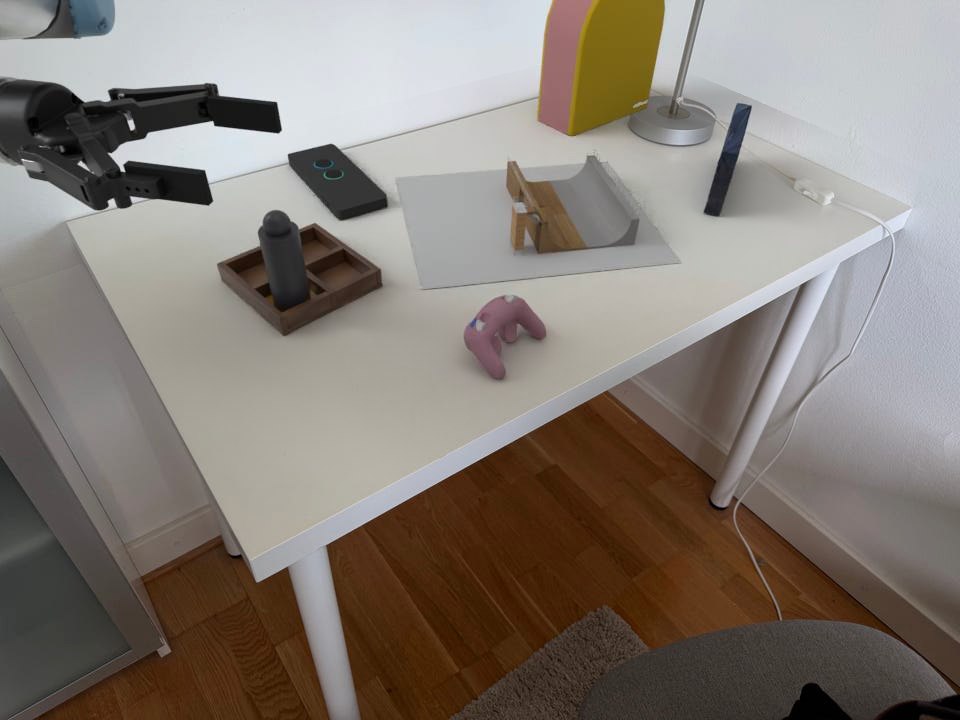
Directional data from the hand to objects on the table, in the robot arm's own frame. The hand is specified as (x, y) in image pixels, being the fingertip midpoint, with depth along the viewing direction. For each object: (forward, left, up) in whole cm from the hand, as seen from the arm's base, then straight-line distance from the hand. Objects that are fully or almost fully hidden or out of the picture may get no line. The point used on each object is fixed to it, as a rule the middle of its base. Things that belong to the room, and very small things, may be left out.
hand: (246, 150), depth 59 cm
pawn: (+6, +9, -24) cm, 26 cm away
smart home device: (+27, +30, -25) cm, 47 cm away
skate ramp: (+42, +4, -25) cm, 49 cm away
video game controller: (+19, -14, -25) cm, 35 cm away
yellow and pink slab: (+78, +21, -25) cm, 84 cm away
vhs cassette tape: (+71, -10, -25) cm, 76 cm away
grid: (+9, +12, -25) cm, 29 cm away
